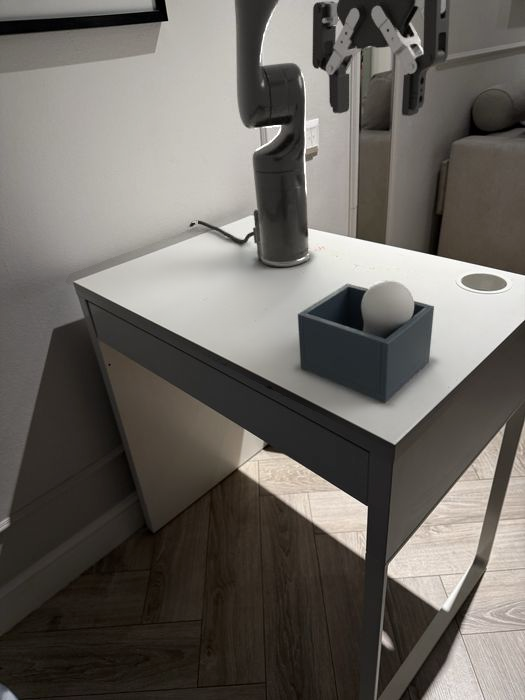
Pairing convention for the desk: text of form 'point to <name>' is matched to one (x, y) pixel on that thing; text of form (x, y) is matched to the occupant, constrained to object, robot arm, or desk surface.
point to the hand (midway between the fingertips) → (373, 113)
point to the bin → (362, 345)
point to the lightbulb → (386, 308)
